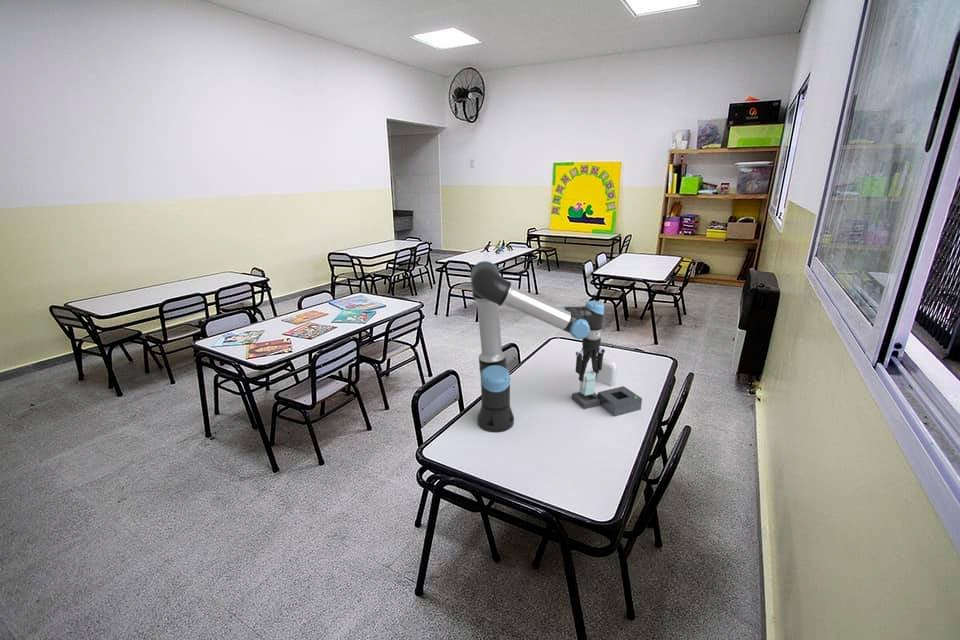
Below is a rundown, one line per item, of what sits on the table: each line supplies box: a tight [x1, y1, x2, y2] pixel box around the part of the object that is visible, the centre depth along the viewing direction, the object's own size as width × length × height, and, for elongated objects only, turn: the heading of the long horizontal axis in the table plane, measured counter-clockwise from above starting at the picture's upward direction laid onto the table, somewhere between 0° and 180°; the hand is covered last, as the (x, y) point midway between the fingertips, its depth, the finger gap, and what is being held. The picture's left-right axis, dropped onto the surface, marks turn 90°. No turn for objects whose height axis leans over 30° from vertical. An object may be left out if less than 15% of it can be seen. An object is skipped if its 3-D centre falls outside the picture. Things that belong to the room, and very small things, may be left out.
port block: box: [597, 385, 643, 418], centre depth 190 cm, size 14×12×6 cm
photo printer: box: [595, 357, 618, 387], centre depth 211 cm, size 10×4×12 cm, turn 39°
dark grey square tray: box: [571, 391, 601, 410], centre depth 195 cm, size 10×10×3 cm
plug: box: [578, 370, 596, 396], centre depth 193 cm, size 5×5×9 cm
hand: (587, 385), depth 193 cm, fingers closed on plug, 5 cm apart
